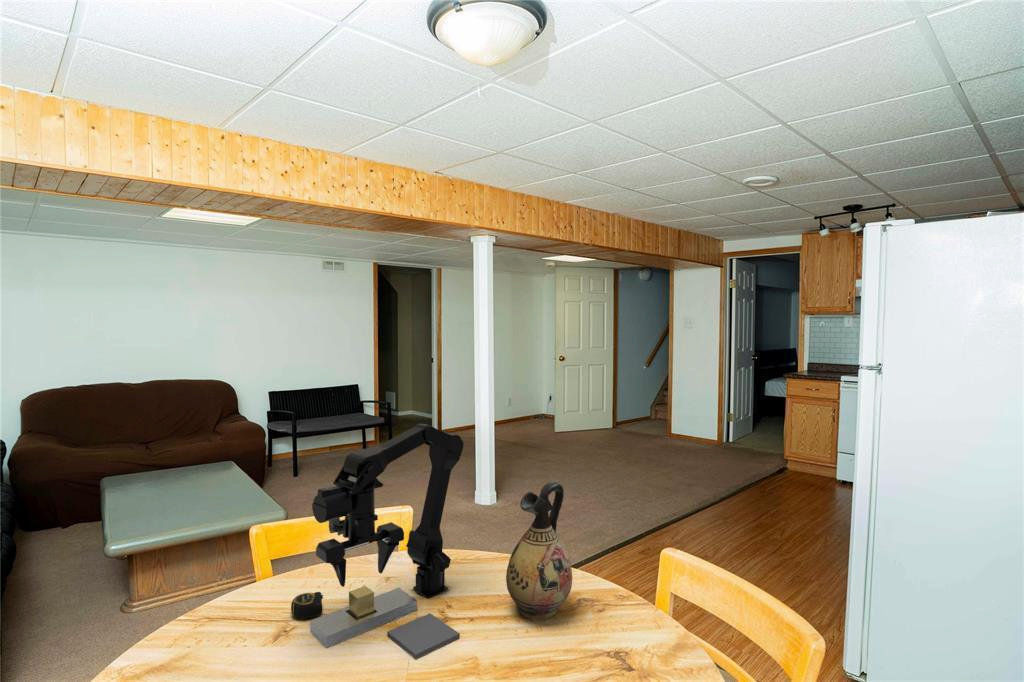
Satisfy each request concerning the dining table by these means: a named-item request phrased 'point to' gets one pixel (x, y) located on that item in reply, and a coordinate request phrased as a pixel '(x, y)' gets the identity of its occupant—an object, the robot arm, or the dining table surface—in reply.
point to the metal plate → (345, 626)
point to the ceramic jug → (540, 559)
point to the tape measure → (307, 605)
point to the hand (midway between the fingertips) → (361, 579)
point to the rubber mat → (423, 635)
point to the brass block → (361, 602)
